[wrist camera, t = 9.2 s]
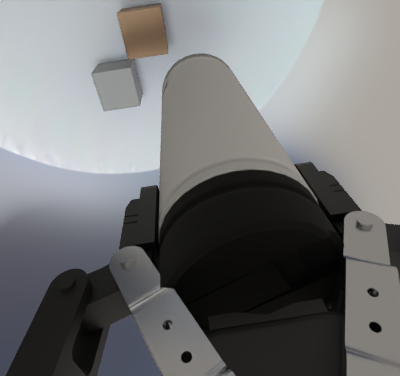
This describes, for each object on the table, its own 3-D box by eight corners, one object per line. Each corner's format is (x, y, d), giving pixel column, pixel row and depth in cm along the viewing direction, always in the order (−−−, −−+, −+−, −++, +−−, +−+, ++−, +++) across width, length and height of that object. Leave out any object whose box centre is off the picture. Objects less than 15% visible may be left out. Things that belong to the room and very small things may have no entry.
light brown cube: (122, 8, 37) (116, 13, 33) (160, 3, 37) (160, 6, 33) (132, 50, 40) (128, 59, 36) (167, 45, 40) (168, 53, 36)
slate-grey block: (98, 63, 41) (91, 73, 37) (133, 58, 41) (130, 67, 37) (109, 98, 44) (103, 111, 40) (142, 93, 44) (140, 105, 40)
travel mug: (143, 84, 24) (97, 316, 8) (213, 35, 22) (336, 202, 6) (185, 141, 27) (214, 384, 11) (248, 103, 26) (387, 322, 10)
